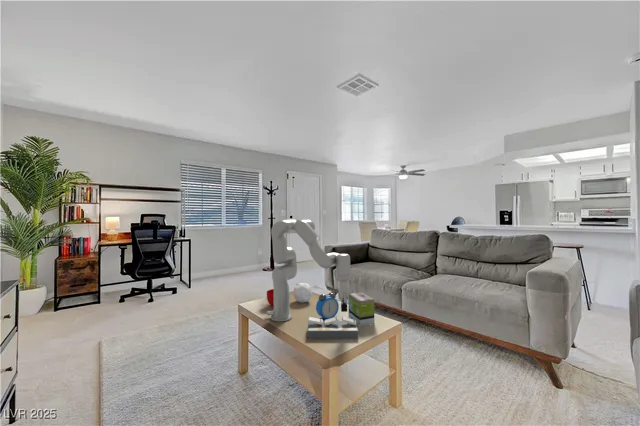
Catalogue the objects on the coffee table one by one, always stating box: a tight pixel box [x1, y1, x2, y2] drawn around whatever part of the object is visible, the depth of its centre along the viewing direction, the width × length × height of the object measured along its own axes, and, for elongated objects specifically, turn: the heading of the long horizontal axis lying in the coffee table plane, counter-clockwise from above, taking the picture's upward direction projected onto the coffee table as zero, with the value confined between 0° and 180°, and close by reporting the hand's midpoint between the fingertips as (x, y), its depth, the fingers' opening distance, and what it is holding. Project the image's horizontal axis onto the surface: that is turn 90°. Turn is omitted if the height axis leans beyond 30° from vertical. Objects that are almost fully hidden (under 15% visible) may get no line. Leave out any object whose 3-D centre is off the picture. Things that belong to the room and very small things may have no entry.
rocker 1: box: [308, 316, 324, 325], centre depth 149 cm, size 7×4×1 cm, turn 90°
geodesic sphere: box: [292, 281, 313, 304], centre depth 200 cm, size 15×14×14 cm
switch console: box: [306, 320, 359, 340], centre depth 148 cm, size 26×13×5 cm, turn 90°
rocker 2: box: [324, 315, 340, 325], centre depth 149 cm, size 7×4×1 cm, turn 90°
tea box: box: [347, 292, 375, 327], centre depth 165 cm, size 15×10×15 cm
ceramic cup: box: [266, 288, 274, 308], centre depth 193 cm, size 13×17×10 cm
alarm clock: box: [315, 292, 340, 321], centre depth 169 cm, size 13×6×15 cm, turn 121°
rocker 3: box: [341, 315, 357, 326], centre depth 149 cm, size 7×4×1 cm, turn 90°
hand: (344, 311), depth 149 cm, fingers closed
